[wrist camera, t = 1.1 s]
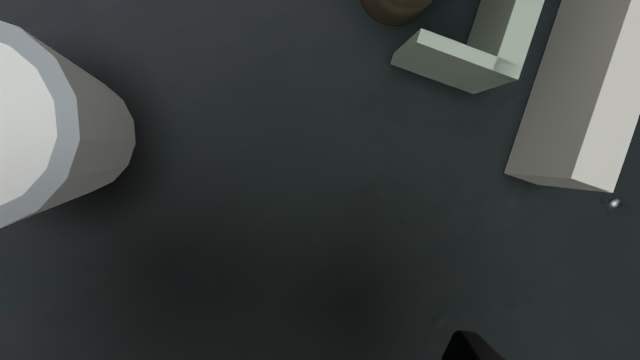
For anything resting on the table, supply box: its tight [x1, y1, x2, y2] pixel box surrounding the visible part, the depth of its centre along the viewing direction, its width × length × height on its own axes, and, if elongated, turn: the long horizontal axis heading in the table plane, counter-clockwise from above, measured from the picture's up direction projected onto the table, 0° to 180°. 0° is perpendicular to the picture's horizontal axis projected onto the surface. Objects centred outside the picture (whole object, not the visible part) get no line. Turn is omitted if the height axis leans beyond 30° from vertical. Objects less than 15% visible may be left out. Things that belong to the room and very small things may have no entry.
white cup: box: [0, 21, 136, 228], centre depth 16 cm, size 7×7×7 cm
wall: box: [504, 0, 640, 193], centre depth 19 cm, size 2×14×5 cm, turn 162°
